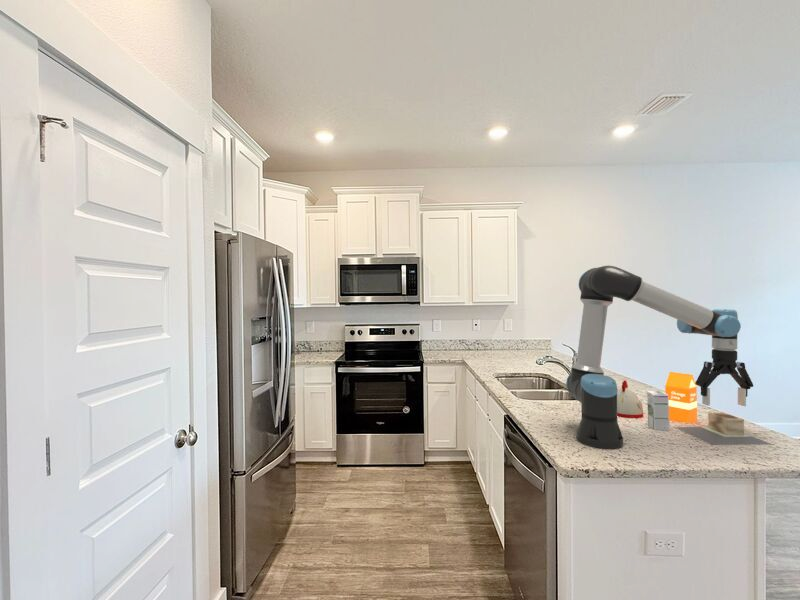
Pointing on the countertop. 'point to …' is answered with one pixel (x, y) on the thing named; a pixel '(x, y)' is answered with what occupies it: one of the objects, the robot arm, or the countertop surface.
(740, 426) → the maple block
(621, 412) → the kitchen timer
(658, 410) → the syrup box
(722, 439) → the rubber mat
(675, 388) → the orange juice
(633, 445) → the countertop surface
